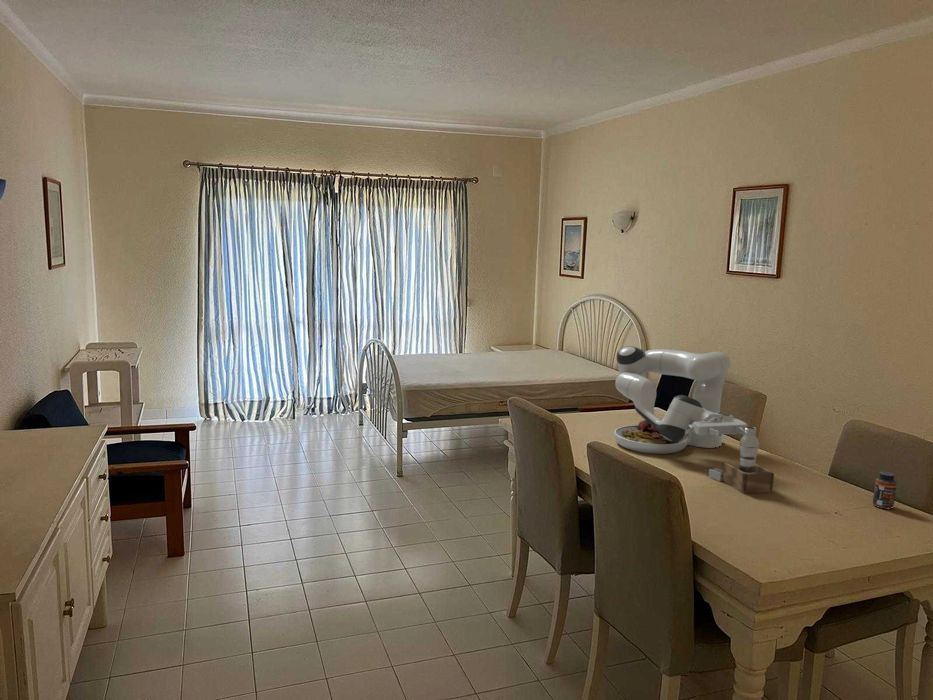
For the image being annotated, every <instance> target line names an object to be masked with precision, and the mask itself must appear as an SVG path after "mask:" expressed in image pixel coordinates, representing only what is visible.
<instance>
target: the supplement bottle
mask: <svg viewBox="0 0 933 700" xmlns="http://www.w3.org/2000/svg"><path fill="white" fill-rule="evenodd" d="M896 492H897V482H896V480H895V474H894V473H892V472H888V471H880V473H879V476H878V477H877V478H875V483H874V492H873V497H872V498H873V499H872V505H873V504H874V505H876V506H879V507H883V508H891V507H893V506H894V505H895V500H896ZM874 505H873V506H874ZM876 506H875V507H876ZM893 508H894V507H893Z"/></svg>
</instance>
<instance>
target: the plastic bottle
mask: <svg viewBox="0 0 933 700" xmlns="http://www.w3.org/2000/svg"><path fill="white" fill-rule="evenodd" d="M744 433H745V435H742V437H741V438H740V439H739V462H738V463H739V464H738V468H737V469H739V470H741V471H742V472H744V473H756V464H757V463H756V462H757V456H758V451H759V446H760V442H759V439H758V438H757V436H756V434H757V428H756V427H753V426H747V427H745V431H744Z"/></svg>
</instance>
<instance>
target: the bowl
mask: <svg viewBox="0 0 933 700" xmlns="http://www.w3.org/2000/svg"><path fill="white" fill-rule="evenodd" d="M613 437H614V440H615V441H616V442H617V444H618V445H620V446H621V447H623V448H625V449H628V450H630V451H633V452H638V453H641V454H642V453H643V454H651V455H652V454H653V455H667V454H669V453H670V454H674V453H677V452H681V451H683V449H685V448H686V447H687V446H688V445H687V443H688V436H687V435H684V437H683V439H681V440H679V441H676V442H673V441H670V440H668V439H666V438H664V437H663V436H662V435H661V434H660V433H659V432H658V431H657V430H656V429H655V428H654V427H653V426H652V425H651V424H650V423H648V422H647V421H646V420H645V419H644V420H641V421H640V422H638V424H633V425H624V426H620V427H617V428H616V429H615V430H614V432H613Z"/></svg>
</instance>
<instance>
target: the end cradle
mask: <svg viewBox="0 0 933 700" xmlns="http://www.w3.org/2000/svg"><path fill="white" fill-rule="evenodd" d="M722 471H723V478H722V481H721V482H723V481H724V482H723V483H725V484H726V485H728V484H729V487H731V486H732V487H731V488H733V487H734V489H735V490H737V491H738V492H739V493H742V494H744V495H745V494H746V495H747V494H763V493H762V492H765V493H772V492H773V487H774V476H775V472H773V471H771V470H769V469H767V468H766V467H763V466H761V465H759V464H758V463H756V473H744V472H742V471H741V470H739V469H738V468H737V467H735V466H734V465H731V464H730V463H728V462H723V468H722ZM769 491H771V492H769Z"/></svg>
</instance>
